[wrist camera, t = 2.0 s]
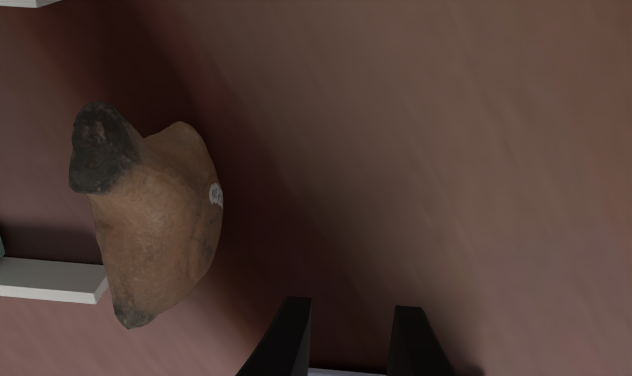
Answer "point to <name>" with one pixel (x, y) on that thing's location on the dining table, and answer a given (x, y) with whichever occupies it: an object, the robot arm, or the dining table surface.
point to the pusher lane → (50, 275)
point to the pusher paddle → (1, 248)
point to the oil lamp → (147, 208)
